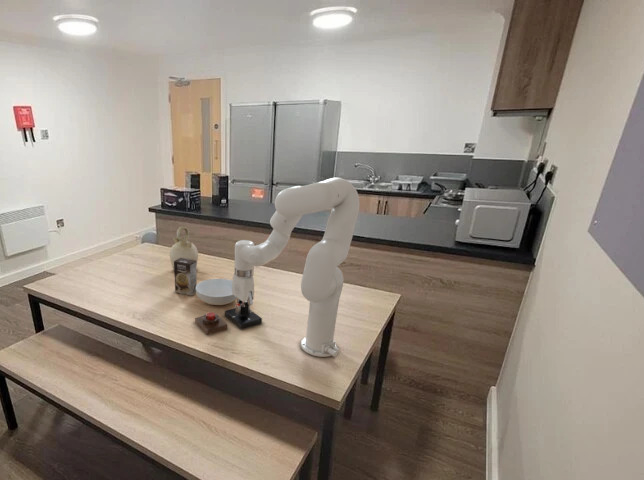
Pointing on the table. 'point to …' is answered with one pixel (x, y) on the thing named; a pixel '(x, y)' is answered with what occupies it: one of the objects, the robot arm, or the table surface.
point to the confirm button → (210, 316)
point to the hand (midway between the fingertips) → (242, 312)
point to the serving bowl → (215, 291)
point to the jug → (183, 248)
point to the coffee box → (185, 276)
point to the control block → (211, 324)
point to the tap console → (243, 319)
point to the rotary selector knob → (238, 309)
